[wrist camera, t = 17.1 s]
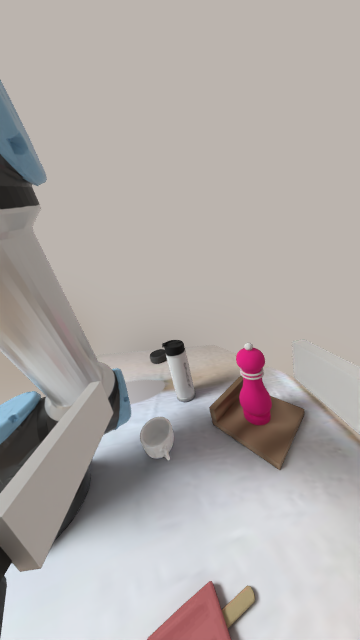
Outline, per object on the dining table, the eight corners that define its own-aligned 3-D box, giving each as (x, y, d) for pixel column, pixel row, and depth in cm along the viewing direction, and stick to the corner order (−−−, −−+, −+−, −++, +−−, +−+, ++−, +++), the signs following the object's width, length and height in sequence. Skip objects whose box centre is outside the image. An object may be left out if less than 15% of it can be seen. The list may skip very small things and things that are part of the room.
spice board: (212, 424, 44) (209, 407, 42) (243, 389, 53) (241, 374, 52) (279, 470, 31) (278, 448, 30) (304, 414, 41) (304, 395, 39)
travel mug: (175, 391, 59) (161, 340, 54) (193, 387, 59) (181, 336, 54) (177, 404, 53) (161, 348, 48) (196, 399, 53) (184, 343, 48)
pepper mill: (260, 433, 37) (251, 354, 32) (235, 414, 43) (224, 344, 38) (279, 415, 40) (273, 340, 35) (253, 399, 46) (245, 334, 41)
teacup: (141, 445, 42) (135, 428, 41) (167, 427, 46) (163, 411, 44) (156, 482, 34) (149, 463, 32) (187, 457, 37) (182, 439, 36)
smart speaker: (171, 358, 85) (169, 351, 83) (156, 366, 80) (154, 359, 79) (162, 353, 92) (160, 347, 91) (148, 361, 87) (146, 354, 86)
